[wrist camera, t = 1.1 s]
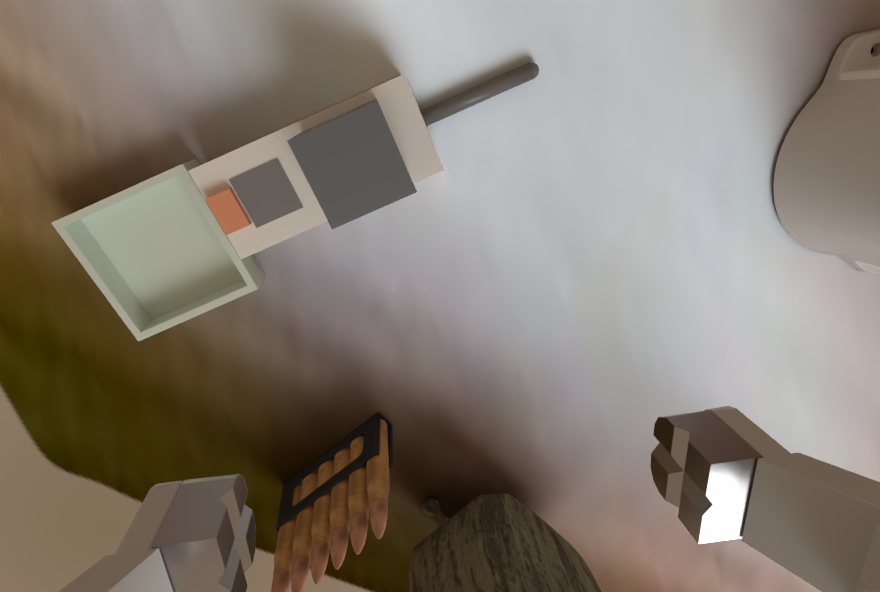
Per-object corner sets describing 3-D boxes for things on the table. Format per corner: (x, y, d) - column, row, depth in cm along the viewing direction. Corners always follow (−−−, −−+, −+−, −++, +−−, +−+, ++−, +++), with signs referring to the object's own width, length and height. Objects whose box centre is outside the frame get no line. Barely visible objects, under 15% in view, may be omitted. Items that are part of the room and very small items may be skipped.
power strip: (521, 21, 34) (543, 11, 30) (549, 111, 36) (573, 114, 32) (207, 162, 35) (184, 172, 30) (253, 242, 37) (238, 262, 33)
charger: (375, 96, 34) (376, 99, 25) (406, 168, 35) (416, 192, 27) (306, 127, 34) (286, 139, 25) (341, 196, 36) (332, 229, 27)
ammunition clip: (378, 411, 43) (380, 521, 32) (393, 425, 44) (400, 537, 33) (283, 484, 45) (254, 614, 34) (298, 497, 45) (275, 628, 34)
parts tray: (196, 158, 35) (182, 163, 32) (265, 275, 38) (258, 288, 36) (74, 213, 35) (51, 222, 32) (153, 324, 38) (138, 341, 36)
